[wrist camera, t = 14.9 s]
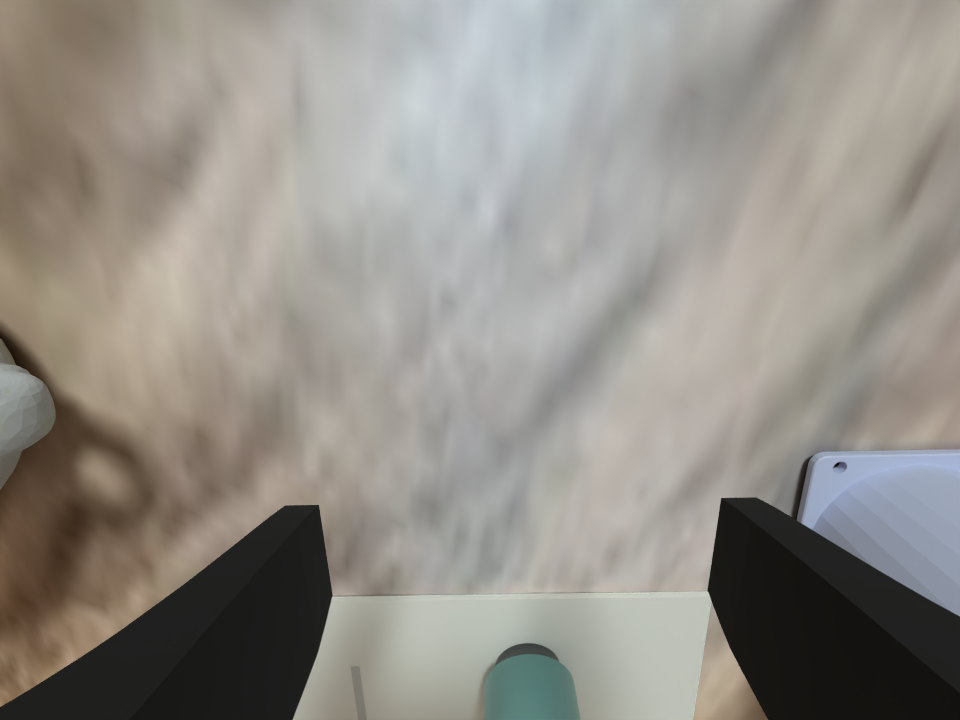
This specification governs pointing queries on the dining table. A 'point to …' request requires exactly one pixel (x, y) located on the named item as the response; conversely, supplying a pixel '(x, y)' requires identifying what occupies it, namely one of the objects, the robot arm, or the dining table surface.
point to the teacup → (20, 412)
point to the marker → (530, 686)
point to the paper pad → (491, 630)
